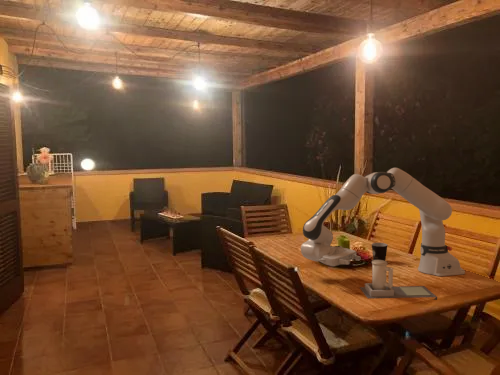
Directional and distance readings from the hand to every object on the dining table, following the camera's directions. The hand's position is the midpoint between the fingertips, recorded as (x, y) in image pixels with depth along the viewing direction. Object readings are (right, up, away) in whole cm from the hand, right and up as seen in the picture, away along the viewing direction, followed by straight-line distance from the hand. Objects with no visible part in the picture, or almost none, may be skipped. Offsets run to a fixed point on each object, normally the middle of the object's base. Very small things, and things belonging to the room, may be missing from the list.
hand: (354, 260), depth 197 cm
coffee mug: (+25, -8, +46) cm, 53 cm away
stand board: (+17, -14, -7) cm, 23 cm away
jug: (+10, -13, -8) cm, 18 cm away
